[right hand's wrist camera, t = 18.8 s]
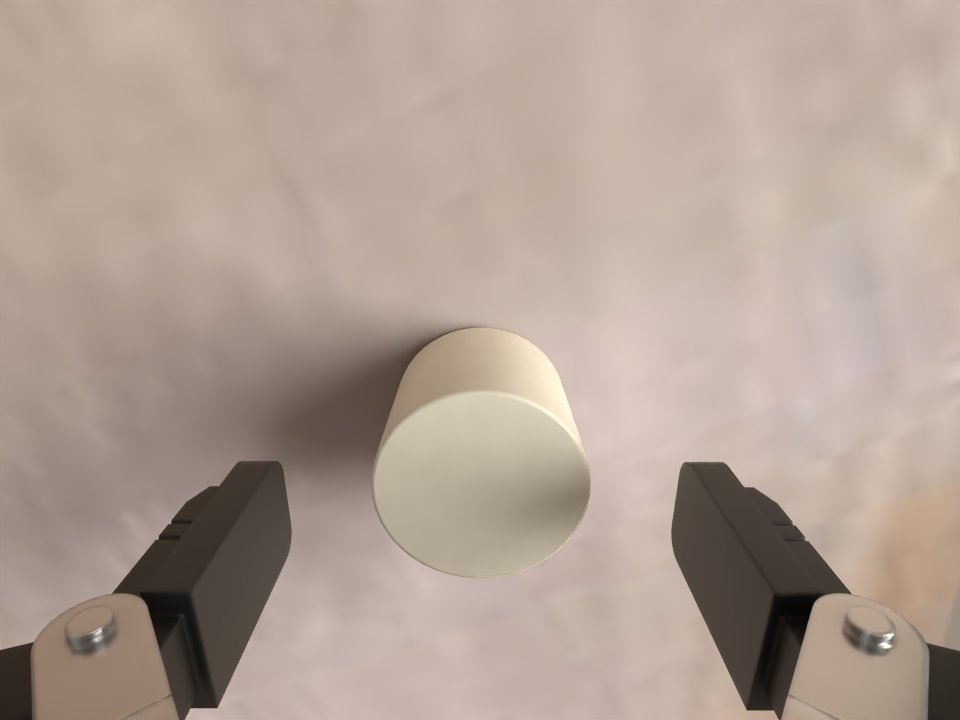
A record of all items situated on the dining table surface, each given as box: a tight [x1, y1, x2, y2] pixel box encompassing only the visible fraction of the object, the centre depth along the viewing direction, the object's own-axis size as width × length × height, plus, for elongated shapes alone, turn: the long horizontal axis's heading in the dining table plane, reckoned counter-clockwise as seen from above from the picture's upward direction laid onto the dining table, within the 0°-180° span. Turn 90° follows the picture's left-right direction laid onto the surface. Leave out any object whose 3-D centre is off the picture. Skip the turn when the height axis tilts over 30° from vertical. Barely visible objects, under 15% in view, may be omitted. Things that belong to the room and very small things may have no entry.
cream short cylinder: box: [371, 328, 591, 578], centre depth 14 cm, size 5×5×4 cm
